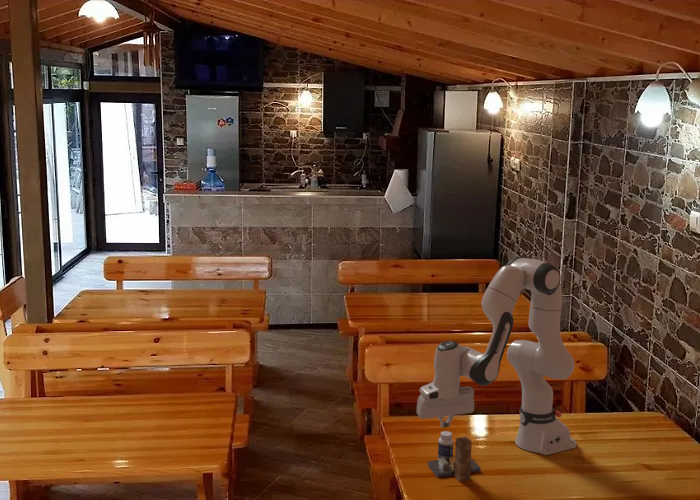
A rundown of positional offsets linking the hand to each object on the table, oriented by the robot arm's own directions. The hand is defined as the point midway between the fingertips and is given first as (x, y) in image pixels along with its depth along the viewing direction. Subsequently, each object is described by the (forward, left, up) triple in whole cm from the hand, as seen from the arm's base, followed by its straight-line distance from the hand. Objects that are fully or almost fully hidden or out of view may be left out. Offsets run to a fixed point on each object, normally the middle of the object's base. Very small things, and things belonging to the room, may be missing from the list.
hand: (445, 426), depth 261 cm
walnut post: (-4, +7, -16) cm, 18 cm away
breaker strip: (-4, 0, -16) cm, 17 cm away
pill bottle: (-4, -7, -16) cm, 18 cm away
